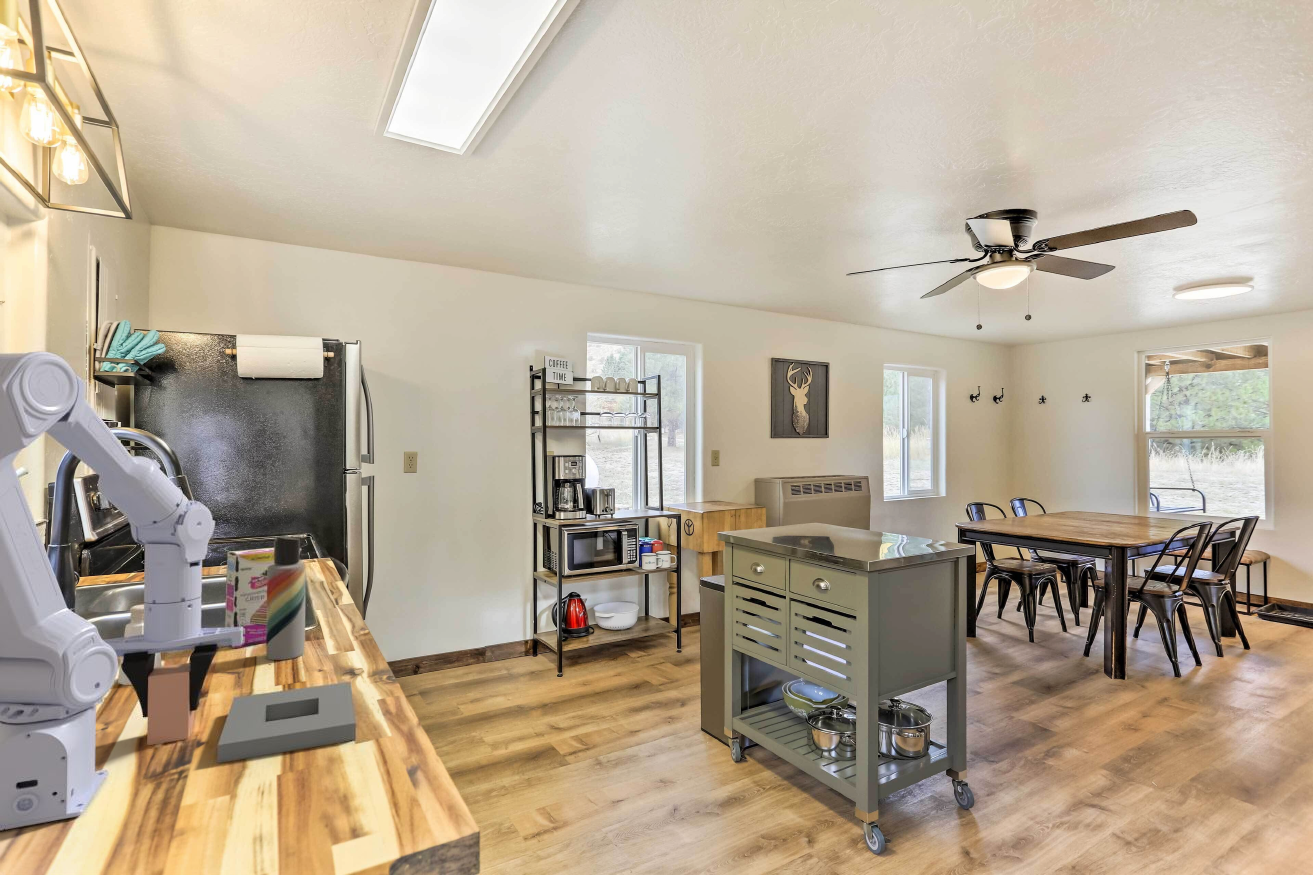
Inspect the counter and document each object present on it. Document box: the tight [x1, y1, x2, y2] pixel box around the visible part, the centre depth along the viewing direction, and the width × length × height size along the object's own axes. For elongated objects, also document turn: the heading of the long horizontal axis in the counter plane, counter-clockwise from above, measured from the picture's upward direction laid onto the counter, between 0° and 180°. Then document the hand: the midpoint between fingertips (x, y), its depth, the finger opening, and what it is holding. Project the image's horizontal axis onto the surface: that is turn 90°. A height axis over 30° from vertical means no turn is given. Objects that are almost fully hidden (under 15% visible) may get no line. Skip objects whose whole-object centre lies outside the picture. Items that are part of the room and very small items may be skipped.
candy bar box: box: [224, 547, 302, 649], centre depth 123 cm, size 11×5×16 cm, turn 141°
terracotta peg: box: [146, 662, 195, 746], centre depth 83 cm, size 4×4×8 cm
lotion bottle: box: [265, 535, 307, 661], centre depth 114 cm, size 6×6×20 cm
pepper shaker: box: [117, 604, 163, 686], centre depth 102 cm, size 5×5×11 cm
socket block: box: [217, 681, 357, 764], centre depth 86 cm, size 16×14×2 cm
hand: (171, 711), depth 83 cm, fingers closed on terracotta peg, 4 cm apart
